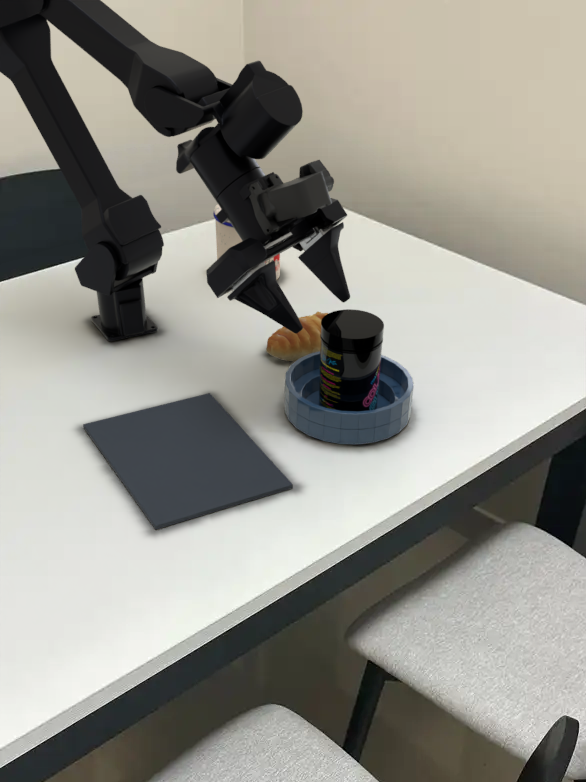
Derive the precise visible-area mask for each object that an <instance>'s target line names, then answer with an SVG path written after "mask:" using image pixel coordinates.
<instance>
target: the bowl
mask: <svg viewBox="0 0 586 782" xmlns="http://www.w3.org/2000/svg"><path fill="white" fill-rule="evenodd" d="M284 377H285V378H284V413H285V415H286V417H287V419H288V421H289V423H291V424H292V425H293V426H294V427H295V429H297V430H298V431H300V432H302V433H304V434H306V435H307V436H309V437H312V438H315V439H317V440H320V441H323V442H327V443H333V444H338V445H365V444H373V443H378V442H381V441H384V440H387V439H390V438H391V437H393V436H395V435H398V434H399V433H400V432H401V431H402V430H403V429H404V428H406V426H407V425H408V423H409V420H410V418H411V413H412V403H413V395H414V386H415V385H414V379H413V377H412V375H411V374H410V372H409V370H408V369H407V368H406V367H405V366H403V365H402V364H401V363H399V362H398V361H397V360H395V359H392V358H390V357H389V356H386V355H383V354H381V365H380V377H379V390H378V402H377V409H375V410H367V411H340V410H335V409H329V408H325V407H322V406H319V380H320V351H318V352H314V353H310V354H308V355H306V356H304V357H301V358H299V359H298V360H296V361H293V362H292V363H291V364H290V365H289V367H288V369H287V370H286V371H285V375H284Z"/></svg>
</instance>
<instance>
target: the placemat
mask: <svg viewBox="0 0 586 782" xmlns="http://www.w3.org/2000/svg"><path fill="white" fill-rule="evenodd" d="M82 426H83V429H84V430H85V432H86V433H87V435H88V436H89V438H90V439H91V440H92V442H93V443H94V445H95V446H96V448H97V449H98V451H99V452H100V454H101V455H102V456H103V457H104V459H105V460H106V462H107V463H108V464H109V466H110V467H111V469H112V470H113V472H114V473H115V474H116V476H117V477H118V479H119V480H120V481H121V483H122V484H123V486H124V487H125V488H126V490H127V492H128V493H129V494H130V496H132V499H133V500H134V501H135V502H136V504H137V505H138V507H139V508H140V510H141V511H142V513H143V514H144V515H145V517H146V518H147V520H148V521H149V523H150V524H151V526H152V527H153V528H154V530H159V529H162V528H166V527H169V526H172V525H176V524H179V523H183V522H186V521H188V520H192V519H196V518H199V517H203V516H205V515H208V514H212V513H215V512H218V511H222V510H225V509H228V508H232V507H235V506H238V505H242V504H245V503H248V502H251V501H255V500H258V499H261V498H265V497H268V496H271V495H274V494H275V495H276V494H278V493H281V492H285V491H288V490H291V489H293V488H294V484H293V483H292V482H291V481H290V480H289V478H287V476H286V475H285V474H284V473H283V472H282V471H281V470H280V468H279V467H277V465H276V464H275V463H274V462H273V461H272V460H271V459H270V458H269V456H267V454H265V452H264V451H263V449H261V448H260V447H259V446H258V444H257V443H256V442H255V441H254V440H253V439H252V437H250V436H249V435H248V434H247V432H246V431H245V430H244V429H243V428H242V427H241V426H240V424H238V422H237V421H236V420H235V419H234V418H233V417H232V416H231V414H229V412H227V410H226V409H225V408H224V407H223V406H222V405H221V404H220V403H219V401H218V400H217V399H216V398H215V397H214V396H213V394H211V392H207V393H204V394H200V395H195V396H192V397H187V398H184V399H180V400H176V401H171V402H168V403H164V404H160V405H156V406H152V407H148V408H143V409H139V410H135V411H131V412H128V413H123V414H119V415H114V416H111V417H106V418H103V419H98V420H95V421H90V422H88V423H87V422H86V423H83V424H82Z"/></svg>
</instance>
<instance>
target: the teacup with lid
mask: <svg viewBox="0 0 586 782" xmlns="http://www.w3.org/2000/svg"><path fill="white" fill-rule="evenodd" d="M220 210H221V208H220V206H219V205H218V203H217V204H216V205H215V206H214V210H213V213H212V215H213V218H214V220H215V221H214V222H215V239H216V241H215V242H216V261H217V260H218V259H219V258H220V257H221V256H222V255H223V254H224V253H225V252H226V251H227V250H228V249H229V248H230V247H232V246H234V245H236V244H238V243H240V242H242V239H241V238H240V236H239V235H238V233H237V232H236V230H235V229H234V227H233V226H232V224H231V223H230V221H227V222H224V223H222V224H221V223H220V221H219V220H218V218H217V217H216V215H217V214H218V213H219V212H220ZM274 260H275V267H276V280H277V281H278V280H279V278H280V276H281V253H280V254H278V255H276V256H275V257H273V258H271V259H269V260H267V261H266V262H264V263H265V264H268V263H270V262H272V261H274Z"/></svg>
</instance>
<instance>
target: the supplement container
mask: <svg viewBox="0 0 586 782" xmlns="http://www.w3.org/2000/svg"><path fill="white" fill-rule="evenodd" d="M384 329H385V324H384V321H383V320H382V319H381V318H380V317H379V316H378V315H376V314H374V313H371V312H369V311H365V310H360V309H338V310H334V311H331V312H328V314H327V315H325V316H324V317H323V318H322V320H321V334H320V338H321V349H320V380H319V406H322V407H325V408H329V409H335V410H340V411H367V410H375V409H377V402H378V390H379V377H380V365H381V355H382V351H383V344H384V343H383V342H384Z"/></svg>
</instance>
